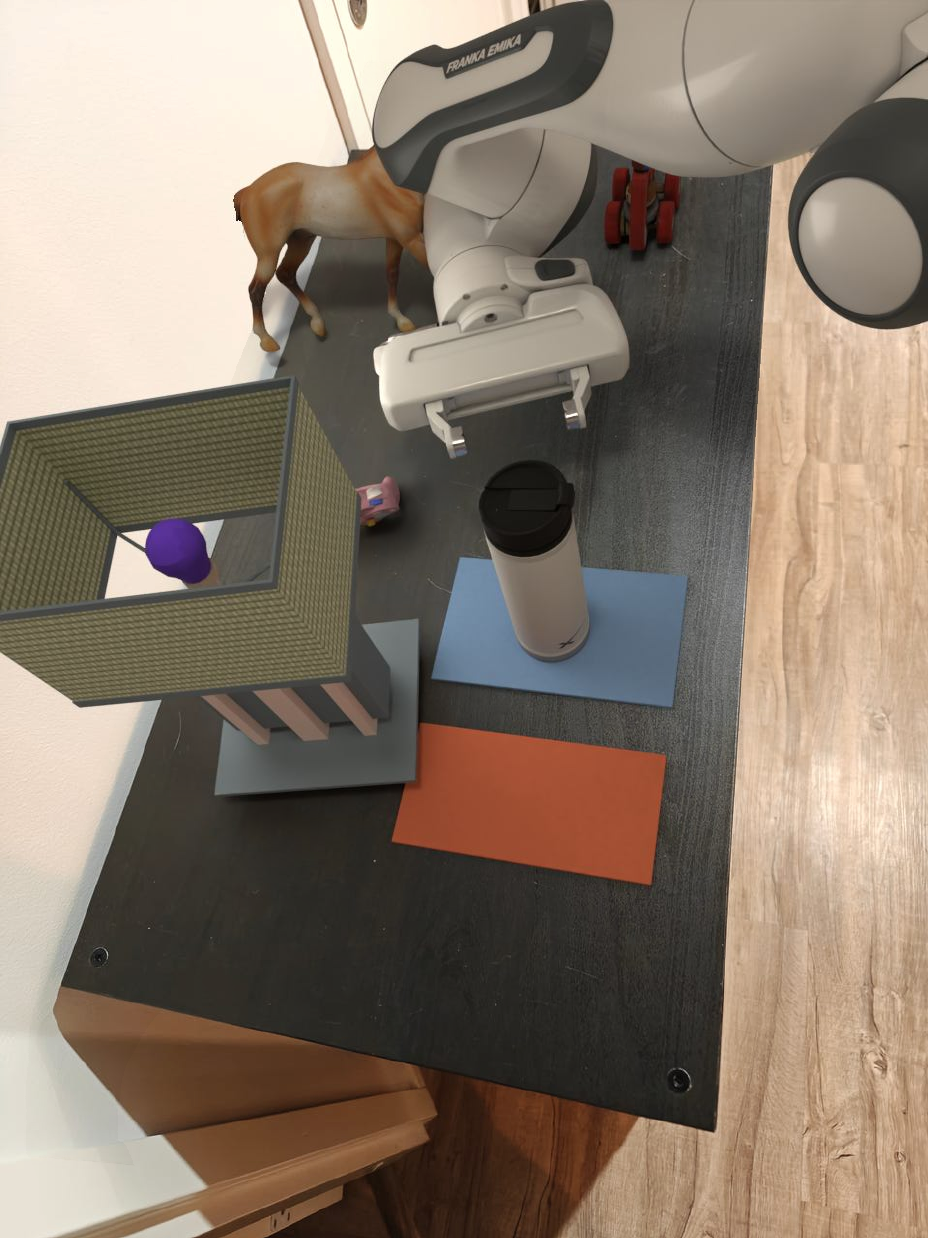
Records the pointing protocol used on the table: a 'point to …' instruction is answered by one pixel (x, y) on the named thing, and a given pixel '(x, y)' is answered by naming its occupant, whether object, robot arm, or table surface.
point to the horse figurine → (326, 225)
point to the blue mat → (602, 669)
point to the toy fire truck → (641, 206)
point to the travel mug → (537, 557)
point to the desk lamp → (208, 583)
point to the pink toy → (378, 501)
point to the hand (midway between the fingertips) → (516, 438)
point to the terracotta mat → (534, 802)
